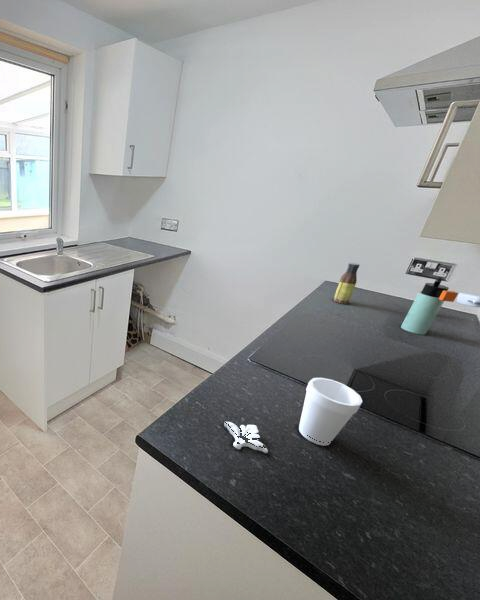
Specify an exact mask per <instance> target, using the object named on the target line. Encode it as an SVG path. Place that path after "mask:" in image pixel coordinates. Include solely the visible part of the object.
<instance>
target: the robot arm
mask: <svg viewBox="0 0 480 600" xmlns="http://www.w3.org/2000/svg"><path fill="white" fill-rule="evenodd" d="M456 304H460V305H463V306H468V307H473V308H480V292H458V295H457V297H456Z"/></svg>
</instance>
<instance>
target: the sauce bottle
mask: <svg viewBox="0 0 480 600" xmlns="http://www.w3.org/2000/svg"><path fill="white" fill-rule="evenodd" d="M360 265H361V264H360V263H356V262H355V263H354V262H348V265H347V269H346V272H345V273H344V274H342V275H341V277H340V280H339V282H338V285H337V287H336V291H335V293H334V296H333V301H334V302H335V303H337V304H342V305H347V304H349V302H350V300H351V298H352V296H353V293H354V290H355V287H356V285H357V281H358V280H357V273H358V270H359V268H360Z"/></svg>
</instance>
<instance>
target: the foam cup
mask: <svg viewBox="0 0 480 600" xmlns="http://www.w3.org/2000/svg"><path fill="white" fill-rule="evenodd" d="M305 389H306V390H305V391H306V393H305V398H304V402H303V406H302V410H301V411H302V412H301V416H300V421H299V424H298V431H299V433H300V434H301V435H302V436H303V437H304V438H305V439H306V440H307V441H309V442H311V443H312V444H315V445H318V446H330V444H331V443H332V442H333V441H334V439H335V438H336V437H337V435H339V433H340V432H341V431H342V429H343V428H344V427H345V425H346V424H347V423H348V422H349V421H350V419H351V418H352V417H353V415H355V414H356V413H357V412H358V411H359V409H360V407H361V406H362V404H363V399H362V397H361V395H360V394H359V393H358V392H357V391H356V390H354V389H353V388H351V387H349V386H347V385H346V384H344V383H342V382H339V381H336V380H334V379H331V378H325V377H313V378H311V379H310V380H309V381H308V383H307V386H306V388H305ZM307 435H308V436H307ZM309 436H310V437H311V438H310V437H309ZM312 438H313V439H312ZM314 439H315V440H314ZM316 440H317V441H316ZM319 441H321V442H319ZM331 441H332V442H331ZM323 442H324V443H323ZM328 442H329V443H328Z"/></svg>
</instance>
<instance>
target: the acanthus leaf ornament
mask: <svg viewBox="0 0 480 600" xmlns="http://www.w3.org/2000/svg"><path fill="white" fill-rule="evenodd" d="M225 422H226V423H227V424H226V423H225ZM225 422H223V423H224V424H223V425H224V427H225V428H226V429H227V431H228V432H229V434H230V435H232V436H233V438H234V440H235V441H234V442H233V445H232V446H233V447H234V448H235V449H237V450H241V449H242V448H243V447H248V448H250V449H253V450H254V451H259V452H262V453H264V454H268V453H269V449H268V448H267V447H266V448H264V447H263V445H264V443H262V442H261V441H259V440H260V439H257V440H252V438H261V436H260V435H259V433H260V431H259V429H258V426H257V425H255V424H247V425H244V424H241V425H240V426H239V427H240V428H241V430H242V432H240V429H239V427H238V425H236V424H235V423H233V422H232V421H225ZM228 424H229V426H230V427H231V428H230V427H229V426H228ZM231 429H232V430H233V431H234V432H233V431H232V430H231ZM247 432H248V433H247ZM235 433H236V434H237V435H236V434H235ZM240 433H242V436H244V435H245V434H246V435H245V436H246V438H248V439H250V440H248V442H250V443H252V444H254V445H255V446H254V445H252V444H250V443H246V442H245V440H243V439H242V438H240V437H239V438H238V437H237V436H240ZM249 433H251V434H249ZM257 433H258V434H257ZM248 434H249V435H248ZM247 435H248V436H247ZM245 436H244V437H245ZM237 442H239V443H240V444H237ZM256 446H257V447H256ZM259 446H261V447H263V448H261V447H259Z"/></svg>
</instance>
